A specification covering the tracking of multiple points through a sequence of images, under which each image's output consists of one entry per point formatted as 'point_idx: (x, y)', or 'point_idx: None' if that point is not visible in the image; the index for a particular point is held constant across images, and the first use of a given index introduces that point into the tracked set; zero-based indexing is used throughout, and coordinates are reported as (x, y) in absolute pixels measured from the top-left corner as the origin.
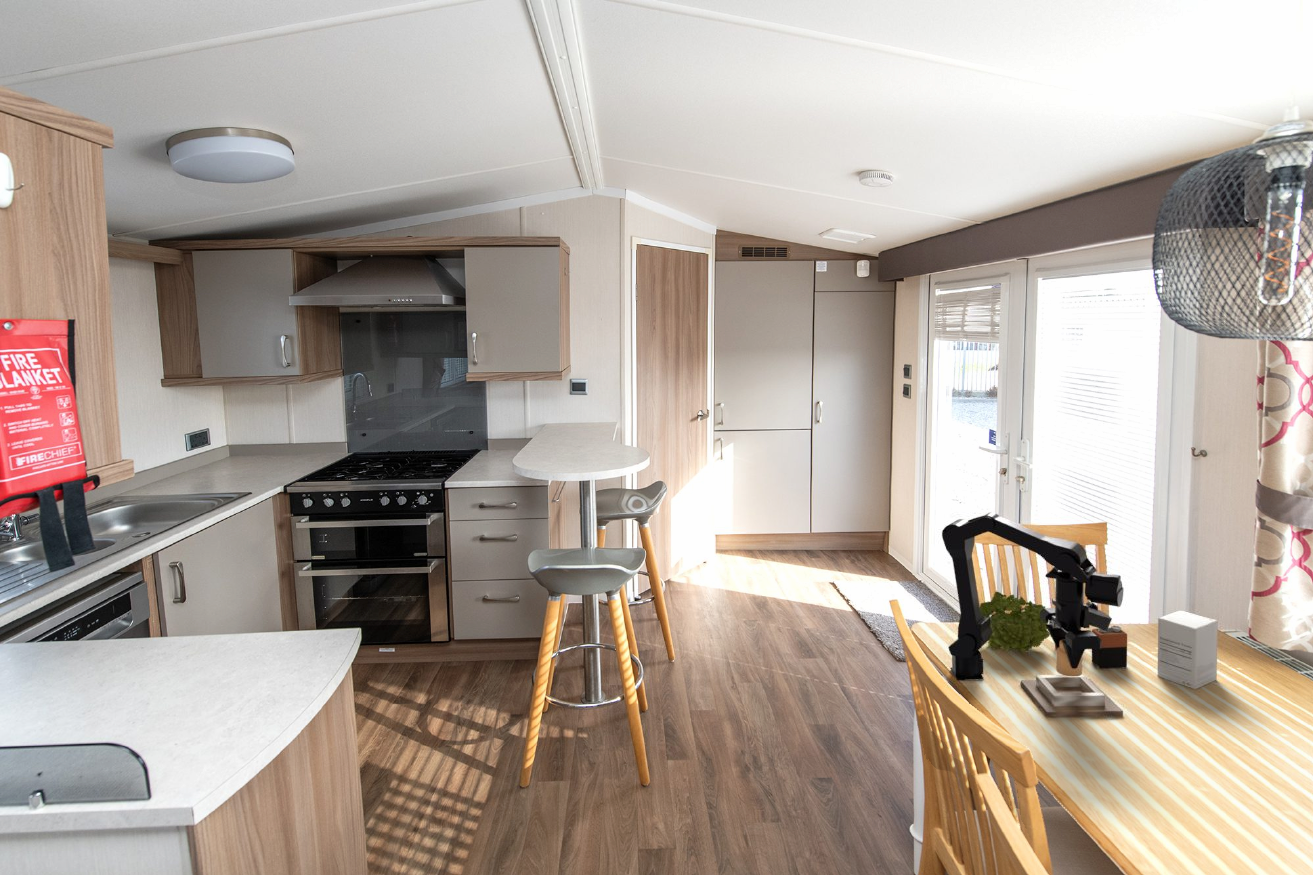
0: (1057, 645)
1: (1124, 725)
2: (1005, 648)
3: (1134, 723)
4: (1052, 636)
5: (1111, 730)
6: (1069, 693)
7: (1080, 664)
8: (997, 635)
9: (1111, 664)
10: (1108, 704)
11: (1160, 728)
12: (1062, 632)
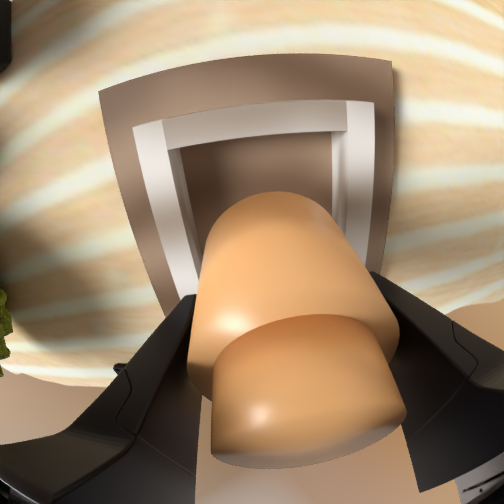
0: (200, 411)
1: (432, 94)
2: (4, 302)
3: (421, 58)
4: (194, 481)
5: (451, 146)
6: (348, 240)
7: (354, 251)
8: (3, 347)
9: (3, 32)
10: (345, 83)
11: (437, 14)
12: (161, 499)
